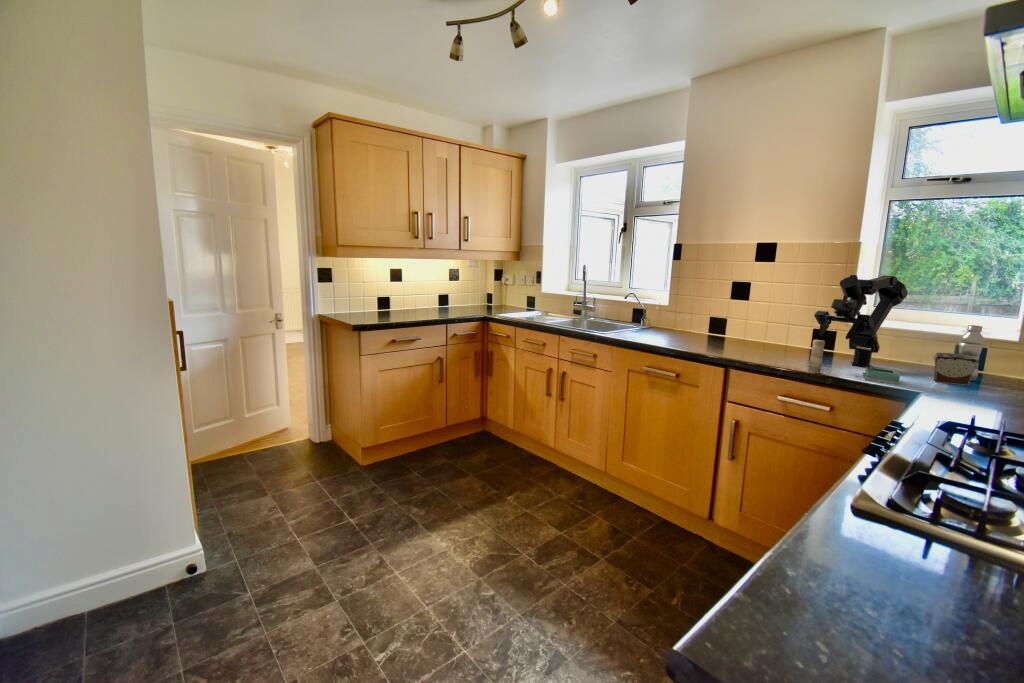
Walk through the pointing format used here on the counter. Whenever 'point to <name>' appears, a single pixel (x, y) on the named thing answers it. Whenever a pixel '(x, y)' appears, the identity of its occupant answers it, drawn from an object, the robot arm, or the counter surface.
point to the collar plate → (882, 375)
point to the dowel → (816, 356)
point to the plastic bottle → (972, 345)
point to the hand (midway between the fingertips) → (832, 336)
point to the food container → (954, 368)
